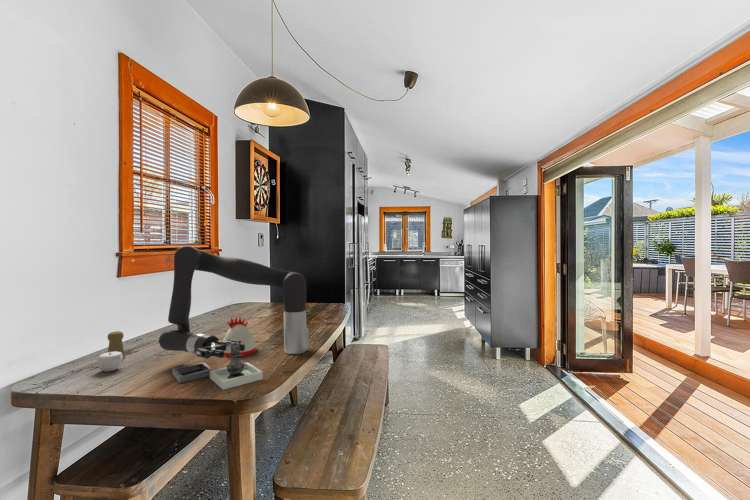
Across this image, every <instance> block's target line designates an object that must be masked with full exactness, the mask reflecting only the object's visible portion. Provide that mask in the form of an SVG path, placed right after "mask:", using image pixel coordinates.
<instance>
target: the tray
mask: <svg viewBox="0 0 750 500" xmlns="http://www.w3.org/2000/svg"><path fill="white" fill-rule="evenodd" d="M243 363H244V364H245V366H244V369H243V371H242V372H241V373H243V374H244V375H243V376H239V377H235V378H231V379H228V376H229V375H230V373H229V372H228V370H227V368H226V367H227V366H224V367H222V368H221V367H220V368H216V369H213V370H212V371H210V376H209V379H210V380H212V382H213V383H215V384H216V385H217V386H218V387H219V388H220V389H222V390H223V391H224V390H227V389H231V388H234V387H238V386H239V387H240V386H241V385H246V384H250V383H253V382H256V381H257V382H258V381H261V380H263V379H264V374H263V373H264V371H262V370H261V369H259V368H258V367H256V366H254V365H253V364H252V363H249V362H243Z"/></svg>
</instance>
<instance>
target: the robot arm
mask: <svg viewBox="0 0 750 500" xmlns="http://www.w3.org/2000/svg"><path fill="white" fill-rule="evenodd" d="M195 271H199V272H204V273H205V272H206V273H212V274H215V275H217V276H220V277H222V278H225V279H228V280H231V281H234V282H239V283H244V284H249V285H258V286H269V287H272V288H273V287H274V288H277V289H279V290H283V294H282V295H283V297H282V298H283V349H284V350H283V352H284V353H285V354H287V355H288V354H289V355H299V354H302V353H305V352H307V351H310V350H309V327H307V281H306V279H305V277H304V275H303V274H301V273H299V272H296V271H289V270H288V271H287V270H281V269H275V268H272V267H269V266H267V265H263V264H261V263H258V262H254V261H251V260H247V259H243V258H239V257H233V256H222V255H218V254H213V253H210V252H206V251H204V250H201V249H198V248H196V247H194V246H190V245H183V246H180V247H178V248H177V250H175V252H174V253H173V285H172V293H171V299H170V305H169V312H168V317H167V321H168V323H170V324H173V325H176V326H177V329H173V330H172V329H171V330H165V331H164V332H162V333H161V334H160V336H159V338H158V344H159V346H160V347H161V348H162V349H164V350H166V351H174V352H175V351H178V352H185V353H188V354H192V355H194V356H196V357H198V358H199V357H200V358H202V359H207V360H208V359H209V358H216V357H217V358H219V359H223V358H225V356H224V352H228V351H231V345H232V344H234V342H235V341H236V343H237V344H239V345H240V351H244V350H245V345H244V344H241V341H240V340H233V339H228V341H223V340H220V338H219V337H217V336H216V335H211V334H205V333H197V332H191V329H190V319H189V318H190V313H191V308H192V307H191V305H192V283H193V276H194V273H195ZM227 345H228V347H229V349H227Z"/></svg>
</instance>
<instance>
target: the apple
mask: <svg viewBox="0 0 750 500" xmlns="http://www.w3.org/2000/svg"><path fill="white" fill-rule="evenodd" d="M123 360H124V359H123V354H122V353H121V352H117V351H114V352H108V351H107V352H104V353H101V354H100V355H98V357H97V359H96V364H97V367H98V368H99V369H100V371H102V372H113V371H116V370H117V369H118V368H119V367H120V366H121V365H122V363H123Z"/></svg>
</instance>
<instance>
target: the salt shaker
mask: <svg viewBox="0 0 750 500" xmlns="http://www.w3.org/2000/svg"><path fill="white" fill-rule="evenodd" d="M240 355H241V353H240V345H239V344H237V343H236V341H235V342H234V344H232V345H231V354H230V356H231V357H230V364H228V365H226V366H225V367H226V368H227V370H228V372H229V373H230V375H229V376H228V379H231V378H235V377H239V376H243V375H244V374H243V373H241V372H242V371H243V369H244V366H245V364H244V363H245V362H242V361H241V356H240Z"/></svg>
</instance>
